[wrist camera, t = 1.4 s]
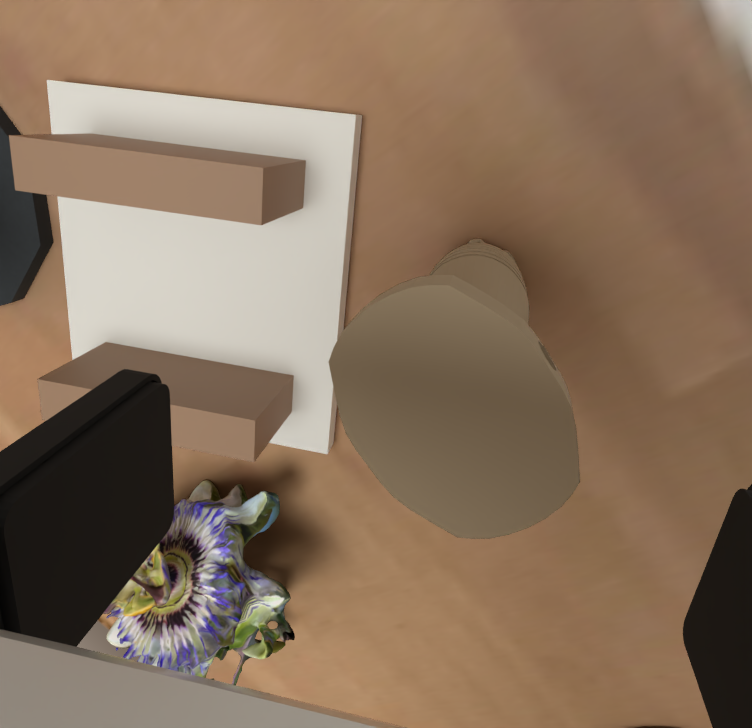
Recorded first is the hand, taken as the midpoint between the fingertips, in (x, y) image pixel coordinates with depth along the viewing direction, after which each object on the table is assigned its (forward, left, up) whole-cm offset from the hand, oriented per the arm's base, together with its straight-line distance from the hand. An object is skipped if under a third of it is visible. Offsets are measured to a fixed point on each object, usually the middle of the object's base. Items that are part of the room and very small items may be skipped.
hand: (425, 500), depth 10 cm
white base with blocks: (-2, +13, -19) cm, 23 cm away
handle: (0, 0, -19) cm, 19 cm away
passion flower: (-19, +11, -19) cm, 29 cm away
